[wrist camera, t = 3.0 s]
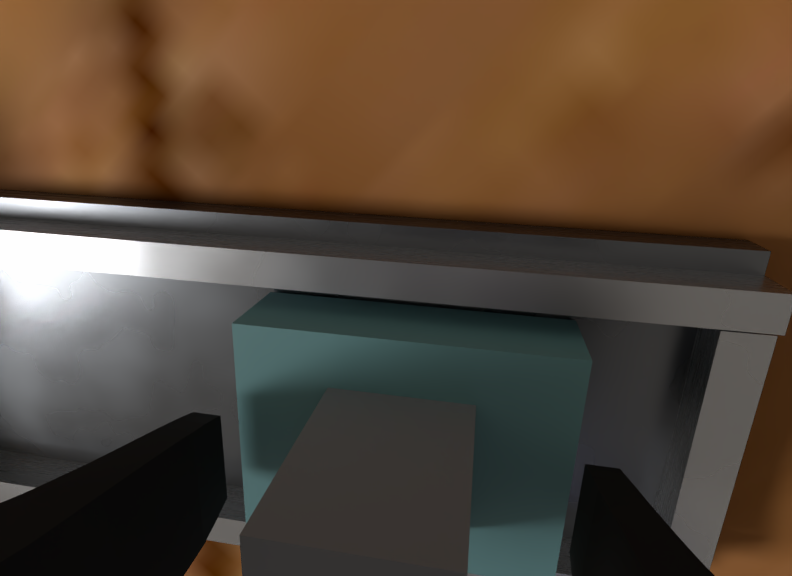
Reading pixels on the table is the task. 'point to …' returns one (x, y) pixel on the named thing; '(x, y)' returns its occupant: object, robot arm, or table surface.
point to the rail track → (379, 282)
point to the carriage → (405, 438)
